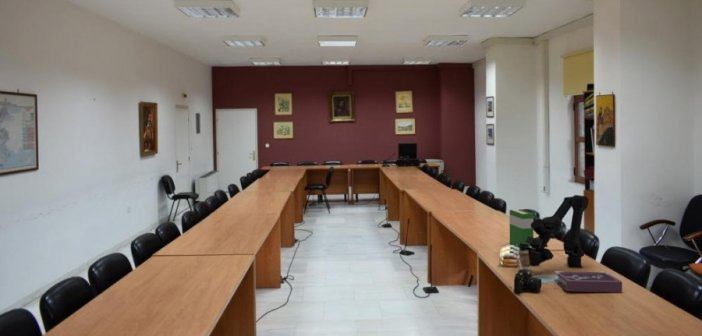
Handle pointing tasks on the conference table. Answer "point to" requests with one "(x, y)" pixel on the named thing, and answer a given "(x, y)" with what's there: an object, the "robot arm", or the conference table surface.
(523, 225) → the hardback book
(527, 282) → the film camera
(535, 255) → the coffee mug
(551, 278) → the flat light blue board
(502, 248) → the diorama
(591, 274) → the book
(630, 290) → the conference table surface
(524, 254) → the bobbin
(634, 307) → the conference table surface
